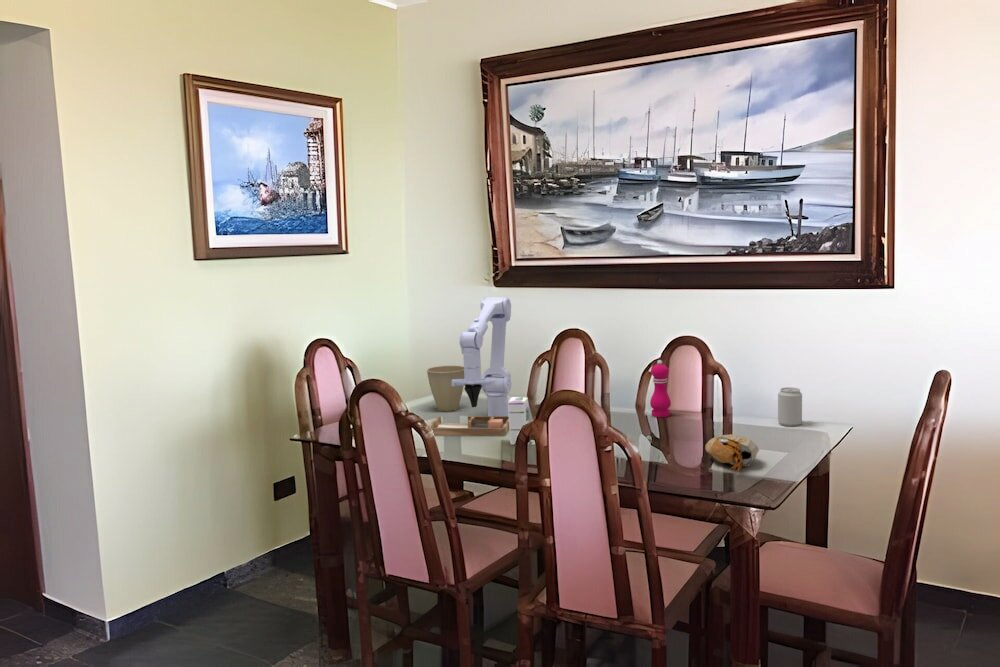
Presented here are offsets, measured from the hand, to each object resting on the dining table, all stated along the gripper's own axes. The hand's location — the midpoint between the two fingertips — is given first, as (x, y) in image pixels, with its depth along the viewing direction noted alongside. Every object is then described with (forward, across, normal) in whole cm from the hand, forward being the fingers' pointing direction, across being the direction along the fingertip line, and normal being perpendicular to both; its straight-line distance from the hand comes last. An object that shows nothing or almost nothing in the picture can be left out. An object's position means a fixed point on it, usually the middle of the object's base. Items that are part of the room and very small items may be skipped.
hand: (474, 406), depth 272 cm
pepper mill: (+10, +62, +25) cm, 67 cm away
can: (+10, +104, +14) cm, 105 cm away
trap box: (+9, -2, +3) cm, 10 cm away
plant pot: (+10, -18, +34) cm, 40 cm away
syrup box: (+10, +17, -11) cm, 22 cm away
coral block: (+9, +7, 0) cm, 11 cm away
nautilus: (+10, +81, -32) cm, 87 cm away
